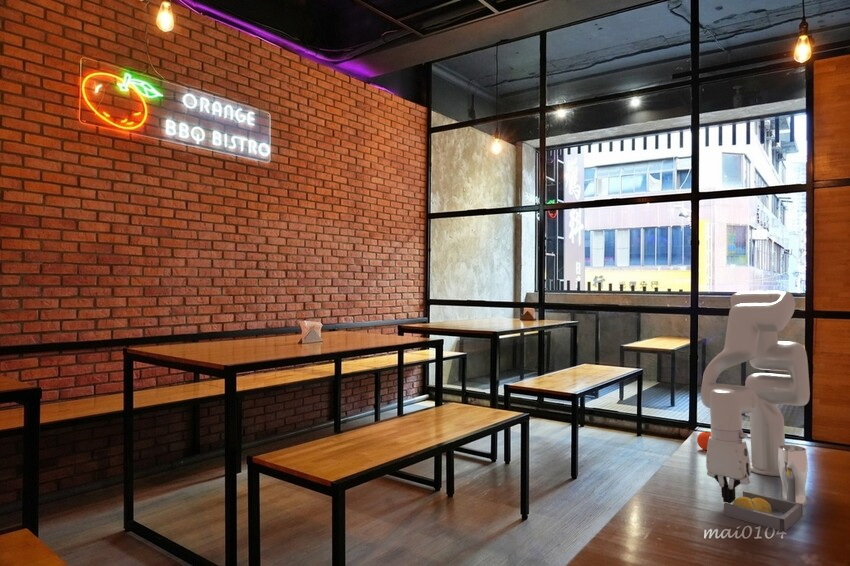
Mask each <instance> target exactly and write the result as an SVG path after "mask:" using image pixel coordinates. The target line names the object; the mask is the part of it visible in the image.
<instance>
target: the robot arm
mask: <svg viewBox="0 0 850 566" xmlns="http://www.w3.org/2000/svg"><path fill="white" fill-rule="evenodd" d="M729 300H730V307H731V308H730V309H729V313H728V319H727V326H726V333H725V340H724V346H723V347H724V348H723V350H722V351H721V352H719V353H718V354H717V355H716V356H714V358H712V359H711V361H710V362H709V363H708V365H707V366H706V367H705V369H704V371H703V374H702V375H703V376H702V382H701V387H700V400H701V402H702V404H703V406H704V407H706V408H708V409H709V411H710V412H709V413H710V416H709V417H710V432H711V437H709V440H708V445H707V451H706V457H705V458H706V459H705V460H706V461H705V463H706V464H705V466H706V470H707V472H706V476H708V477H710V478H712V479H715V480H716V482H717V483H718V484H719V487H721V488H720V489H721V491H720V492H721V498H723V499H722V500H723V503H728V504H733V503H734V501H735V500H736V488H737V487H738V486H739V485H742V486H743V485H744V486H745V485H749V484H750V483H751V481H750V476H751V473H752V472H753V473H755V474H759V475H764V476H770V477H771V476H772V477H780V473H779V467H778V446H779V445H786V441H785V440H786V437H785V418H784V415H783V413H782V411H781V410H780V409H779V408H778V406H777V405H785V406H786V405H787V406H795V407H801V406H802V407H804V406H806V405H807V404H809V401H810V397H811V396H810V395H811V392H810V389H811V388H810V377H809V376H810V375H809V363H808V355H807V350H806V349H805V347H804V345H802V344H801V343H799V342H796V341H783V340H779V339H778V332H781V331H783V330H784V329H785V328H786V327H787V325H788V323H789V322H790V320H791V318H792V317H793V315H794V312H795V308H796V300H795V297H794V296H793V294H792V293H791V292H789V291H787V290H765V291H764V290H752V291H751V290H750V291H749V290H745V291H738V292H735V293H733V294H732V295H731V296H730V299H729ZM748 361H749V365H750V366H751V367H752V368H753V369H757V370H763V371H775V372H776V371H777V372H787V373H788V374H781V373H773V372H772V373H771V372H770V373H769V372H756V373H752V374H749V375H748V376H747V377H746V379H745V382H744V383H745V385H737V384H730V383H729V384H728V383H727V384H726V383H717V382H716V381H717V379H718V378H719V376H720V375H721V373H723V371H725V370H727V369H728V368H731V367H734V366H736V365H739V364H742V363H745V362H748ZM742 414H749V424H750V425H749V432H750V452H749V448H748V446H747V441H746V440H747V439H748V433H745V432H744V431H743V430H744V429H742V425H743V424H742ZM744 439H745V440H744ZM749 453H750V454H749ZM750 455H751V456H750ZM750 458H751V461H750ZM728 479H729V480H728Z"/></svg>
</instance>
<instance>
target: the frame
mask: <svg viewBox="0 0 850 566" xmlns="http://www.w3.org/2000/svg"><path fill="white" fill-rule="evenodd" d="M742 497H748V498H750V499H753V498H762V499H764V500H766V501H767V502H768V503H769V504H770V505H771V510H773V511H777V512H782V513H784V514H783V515H782V516H778V515H774V514H772V515H771V514H767V513H763V512H759V511H755V510H751V509H748V508H744V507H740V506H736V505H733V503H730V504H729V503H727V502H723V516H725V517H729V518H733V519H737V520H741V521H744V522H747V523H752V524H755V525H758V526H762V527H765V528H766V527H767V528H769V527H771V528H770V529H773V528H774V529H773V530H776V531H781V532H786V531H788V529H789V528H790V527H792V526H793V525H794V524H795V523H796V522H797V521H798V520H799V519H801V518H802V517H803V516H804V514H803V511H804V510H803V506H802V504H800V503H796V502H791V501H787V500H783V499H781V498H778V497H774V496H769V495H765V494H761V493H756V492H753V491H749V490H743V491H742Z"/></svg>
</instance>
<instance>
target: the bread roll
mask: <svg viewBox="0 0 850 566" xmlns="http://www.w3.org/2000/svg"><path fill="white" fill-rule="evenodd" d="M732 505H736V506H740V507H744V508H748V509H751V510H755V511H759V512H763V513H767V514H771V515H773V512H772V509H771V505H770V504H769V503H768V502H767V501H766V500H764V499H762V498H753V499H750V498H748V497H743V496H739V497H737V498H735V500H734V501H733V502H732Z"/></svg>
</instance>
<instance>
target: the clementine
mask: <svg viewBox="0 0 850 566" xmlns="http://www.w3.org/2000/svg"><path fill="white" fill-rule="evenodd" d="M709 437H711V430H710V431H709V430H706V431H702V432H700V433H699V434H698V435H697V437H696V442H697V445H698V446H699V448H700V449H702V450H703V451H706V450H707V445H708V440H709Z"/></svg>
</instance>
